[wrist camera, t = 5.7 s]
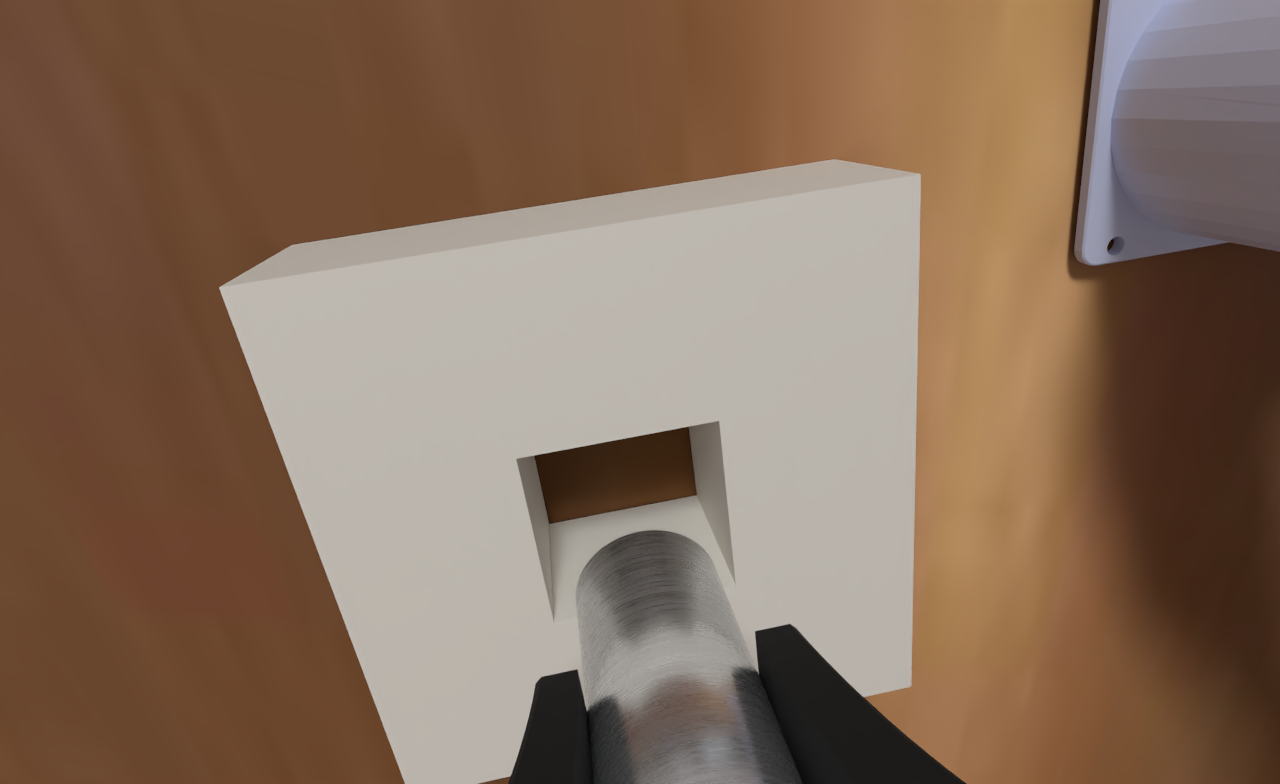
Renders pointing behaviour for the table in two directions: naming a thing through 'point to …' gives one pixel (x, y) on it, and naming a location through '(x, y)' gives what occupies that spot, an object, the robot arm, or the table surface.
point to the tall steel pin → (671, 671)
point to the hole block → (597, 427)
